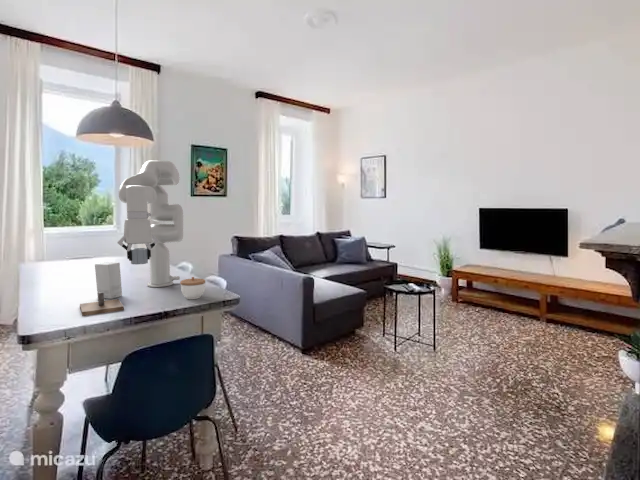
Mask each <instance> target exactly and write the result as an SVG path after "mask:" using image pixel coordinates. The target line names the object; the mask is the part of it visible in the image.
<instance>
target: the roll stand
mask: <svg viewBox="0 0 640 480" xmlns="http://www.w3.org/2000/svg"><path fill="white" fill-rule="evenodd" d="M124 308H125V307H124V305H123V303H122V302H121V300H120V299H119V298H116V299H115V298H114V299H108V300H105V298H104V292H100V293H98V295H97V301H93V302H92V301H91V302H85V303H79V309H80V312H81V316H82V317H83V316H84V317H85V316H92V315H97V314H107V313H111V312H112V313H113V312H120V311H124V310H125V309H124Z"/></svg>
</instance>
